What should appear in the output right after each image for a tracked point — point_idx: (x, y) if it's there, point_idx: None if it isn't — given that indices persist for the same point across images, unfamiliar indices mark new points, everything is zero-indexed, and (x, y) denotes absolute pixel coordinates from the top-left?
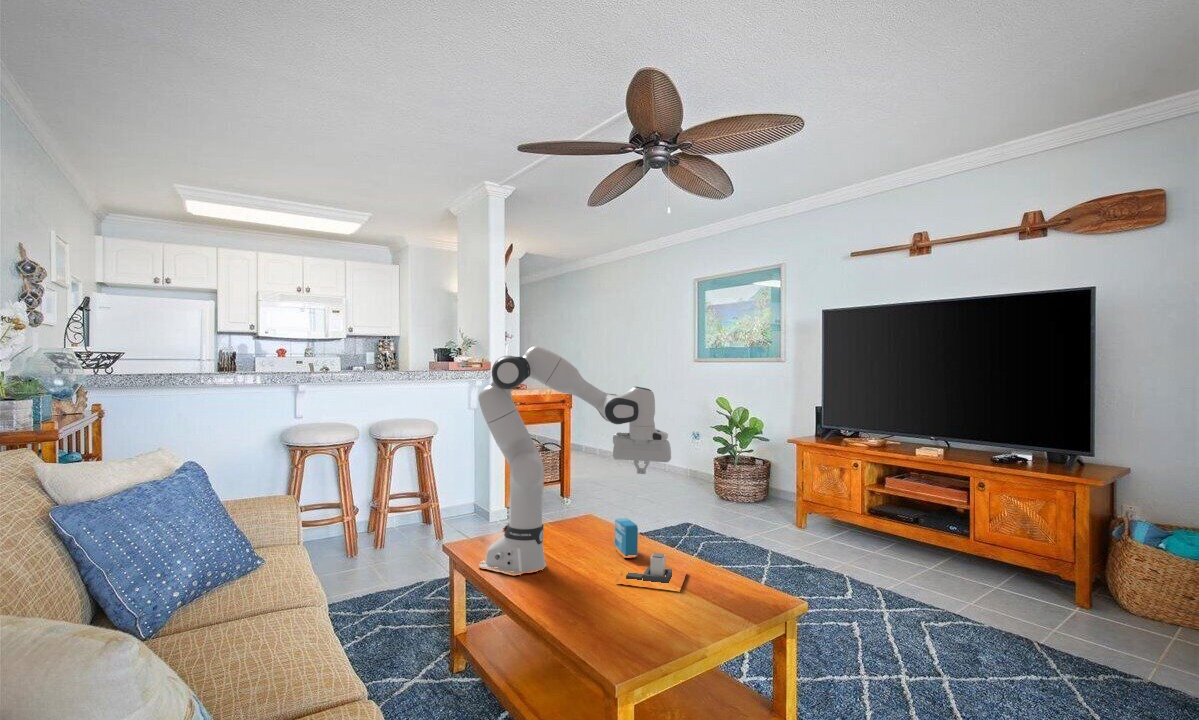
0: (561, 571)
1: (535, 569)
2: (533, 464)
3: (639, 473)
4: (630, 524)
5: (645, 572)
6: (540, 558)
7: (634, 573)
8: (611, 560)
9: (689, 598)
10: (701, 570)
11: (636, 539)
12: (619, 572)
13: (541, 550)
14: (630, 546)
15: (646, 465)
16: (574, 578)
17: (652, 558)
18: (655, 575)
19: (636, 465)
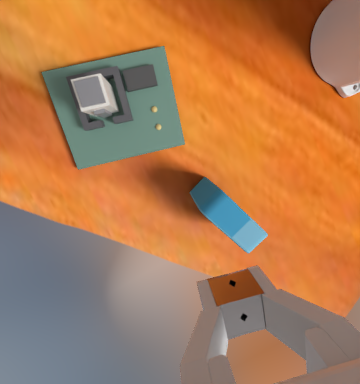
0: (279, 59)
1: (323, 17)
2: None
3: (238, 271)
4: (218, 208)
5: (120, 83)
6: (333, 28)
7: (144, 84)
8: (224, 161)
9: (16, 54)
10: (69, 200)
11: (196, 199)
12: (186, 112)
13: (347, 29)
14: (202, 186)
15: (196, 346)
16: (243, 37)
17: (96, 75)
18: None
19: (300, 309)
